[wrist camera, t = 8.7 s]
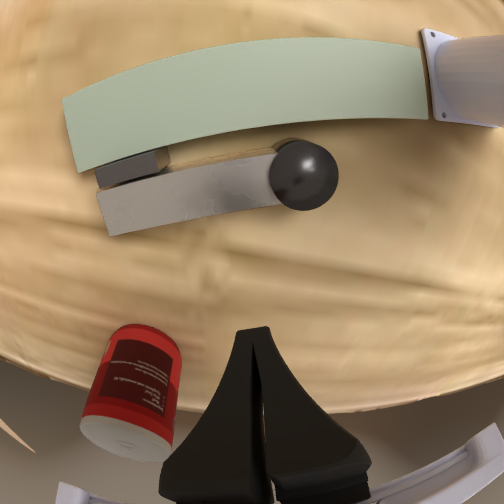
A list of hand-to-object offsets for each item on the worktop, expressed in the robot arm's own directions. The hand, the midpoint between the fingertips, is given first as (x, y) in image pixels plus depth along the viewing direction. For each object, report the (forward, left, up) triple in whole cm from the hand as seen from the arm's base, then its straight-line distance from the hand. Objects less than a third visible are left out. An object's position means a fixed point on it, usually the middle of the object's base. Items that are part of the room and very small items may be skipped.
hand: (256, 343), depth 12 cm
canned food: (+12, +10, -10) cm, 19 cm away
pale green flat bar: (-2, -11, -10) cm, 15 cm away
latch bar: (+1, -5, -10) cm, 11 cm away
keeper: (+6, -7, -10) cm, 14 cm away
